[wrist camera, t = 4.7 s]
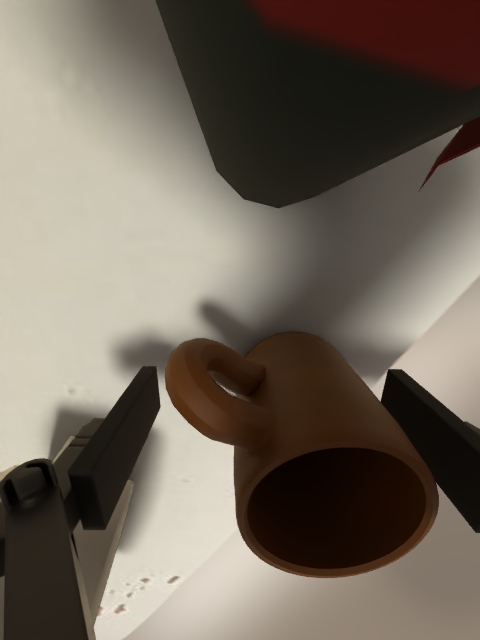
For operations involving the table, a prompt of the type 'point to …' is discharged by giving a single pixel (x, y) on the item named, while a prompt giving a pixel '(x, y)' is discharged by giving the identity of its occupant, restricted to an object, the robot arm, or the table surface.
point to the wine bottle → (325, 86)
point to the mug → (307, 454)
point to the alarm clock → (90, 550)
